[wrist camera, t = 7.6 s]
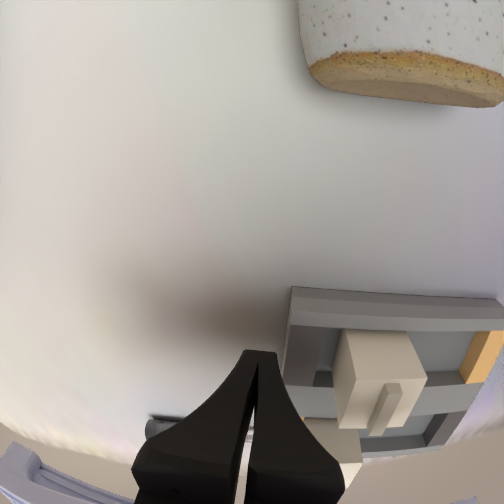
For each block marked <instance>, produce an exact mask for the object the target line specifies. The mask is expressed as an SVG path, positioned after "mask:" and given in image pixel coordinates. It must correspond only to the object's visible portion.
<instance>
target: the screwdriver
mask: <svg viewBox="0 0 504 504" xmlns="http://www.w3.org/2000/svg"><path fill="white" fill-rule="evenodd" d="M176 423H178V422H172V421H163V420H154V419H150V420H148V422H147V424H146V427H145V437H146V439H148V438H150V437H152V436H154V435H156V434H158V433H160V432H162V431H164V430H166V429H168V428H170V427H171V426H173V425H175V424H176ZM252 440H253V435H247V436H246V439H245V442H252Z"/></svg>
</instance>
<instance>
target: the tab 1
mask: <svg viewBox="0 0 504 504" xmlns="http://www.w3.org/2000/svg"><path fill="white" fill-rule="evenodd" d="M303 422H304V423H305V425H306V426H307V428H308V429H309V430H310V432H311V433H312V434H313V435H314V437H315V438H316V439H317V441H318V442H319V443H320V444H321V445H322V446H323V447H324V448H325V449H326V450H327V451H328V452H329V453H330V454H331V455H332V456H333V457H334V458H335V459H336V460H337V461H338V462H339V464H340V467H341V470H342V473H343V476H344V480H345V489H346V488H348V486H349V485H350V483H351V482H352V480H353V478H354V477H355V475H356V474H357V472H358V470H359V469H360V467H361V465H362V464H363V460H362V453H361V446H360V439H359V433H358V429H338V419H337V418H312V417H304V421H303Z"/></svg>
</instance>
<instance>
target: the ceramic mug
mask: <svg viewBox="0 0 504 504" xmlns="http://www.w3.org/2000/svg"><path fill="white" fill-rule="evenodd" d="M298 12H299V26H300V37H301V41H302V45H303V49H304V54H305V59H306V63H307V66H308V68H309V71H310V73H311V75H312V76H313V77H314V78H315V79H316V80H317V81H318V82H319V83H320V84H321V85H323V86H324V87H325V88H329V89H332V90H336V91H341V92H346V93H353V94H360V95H367V96H374V97H383V98H392V99H401V100H409V101H417V102H426V103H434V104H442V105H452V106H462V107H473V108H485V107H495V106H496V105H498V104H499V103H501V102H502V101H504V0H298Z"/></svg>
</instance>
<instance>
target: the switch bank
mask: <svg viewBox="0 0 504 504" xmlns="http://www.w3.org/2000/svg"><path fill="white" fill-rule="evenodd" d="M341 328H347V329H367V330H392V331H406V333H407V335H408V337H409V339H410V341H411V343H412V345H413V347H414V349H415V351H416V354H417V356H418V358H419V360H420V362H421V364H422V366H423V369H424V371H425V373H426V375H427V378H428V379H427V381H426V383H425V385H424V387H423V389H422V391H421V393H420V395H419V397H418V399H417V401H416V403H415V405H414V407H413V409H412V411H411V413H410V414H409V416H408V418H407V420H406V422H405V424H404V425H403V427H390V428H386V429H385V431H384V433H383V434H382V436H368V431H367V428H363V429H358V433H359V439H360V446H361V453H362V458H373V457H388V456H399V455H409V454H418V453H425V452H432V451H439V450H441V448H442V447H443V446H444V444H445V443H446V442H447V440H448V439H449V437H450V436H451V435H452V433H453V432H454V430H455V429H456V427H457V426H458V424H459V423H460V421H461V420H462V418H463V417H464V415H465V414H466V412H467V410H468V409H469V407H470V406H471V404H472V402H473V401H474V399H475V397H476V396H477V394H478V392H479V390H480V389H481V387H482V385H483V383H484V382H485V380H486V378H487V376H488V374H489V372H490V371H491V369H492V367H493V365H494V363H495V361H496V359H497V357H498V355H499V353H500V351H501V349H502V346H503V344H504V307H503V306H502V305H501V304H500V303H499V302H498V301H497V300H496V299H477V298H455V297H436V296H418V295H401V294H385V293H371V292H357V291H343V290H330V289H318V288H306V287H294V286H292V292H291V300H290V308H289V316H288V324H287V331H286V339H285V346H284V353H283V360H282V367H281V376H282V379H283V382H284V385H285V387H286V390H287V392H288V395H289V397H290V399H291V401H292V403H293V405H294V407H295V409H296V411H297V412H298V414H299V416H300V417H301V419H302V420H303V421H304V417H312V418H337V410H336V401H335V393H334V385H333V377H332V365H333V361H334V357H335V353H336V349H337V345H338V341H339V337H340V333H341Z"/></svg>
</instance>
